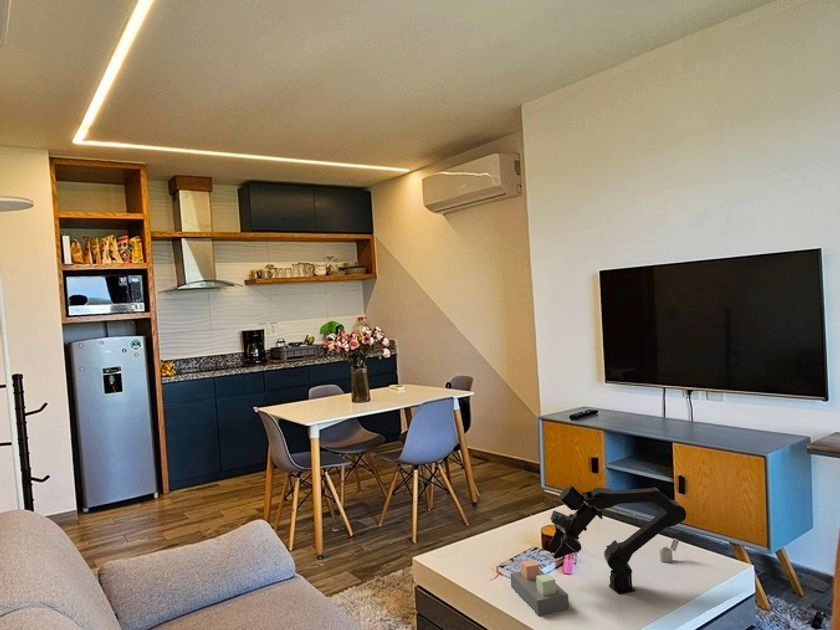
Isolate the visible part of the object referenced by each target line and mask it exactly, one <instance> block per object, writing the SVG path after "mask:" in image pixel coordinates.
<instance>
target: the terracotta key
mask: <svg viewBox="0 0 840 630" xmlns="http://www.w3.org/2000/svg"><path fill="white" fill-rule="evenodd" d="M539 569H540V565H539V564H538V563H537V562H536V561H535V560H534V559H528V560H524V561H520V571H521V576H522V577H523V578H524V579H525V580H526V581H527V580H533V579H536V576H539Z"/></svg>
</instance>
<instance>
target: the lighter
mask: <svg viewBox="0 0 840 630" xmlns="http://www.w3.org/2000/svg"><path fill="white" fill-rule="evenodd" d="M679 543H680V541H679V539H676V538H673V539H672V542H671V545H670V547H668V546H663V547H662V549H661V548H660V549H659V561H660V562H661V563H672V562H674V561H673V552H676V550H677V548H678V546H679Z"/></svg>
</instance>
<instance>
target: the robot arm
mask: <svg viewBox="0 0 840 630" xmlns="http://www.w3.org/2000/svg"><path fill="white" fill-rule="evenodd" d="M558 500H559V501H560V502H561V503H562V504H563V505H565V506H566V507H567V508H568V509H569V510H571V511H575V512H574V514H573V513H570V514H569V515H567V514H564V513H563V512H559V511H557V510H553V511H552V514H551V516H550V520H551V524H553V525H554V531H555V532H554V534H553V535H552V538H551V539H550V542H549V544H548V547H549V548H550V549H552V548H554V547H556V546H557V545H559V544H560V545H559V546H558V548H557V549H556V551H555V552H554V554H553V556H552V558H553V559H554V560H557V559H559V558H563V557H565V556H568V555H571V554H576V553H577V554H578V553H580V551H581V550H582V545H581V542H580V541H579V539H580V535H581V534H582V532H583V531H584V532H586V531H587V530H588V526H589V525H590V523H591V522H592V521H593V520H595V518H596V517H598V518H599V519H601V520H603V518H604V517H603V510H606V509H610V508H614V507H615V506H618V505H623V504H624V505H625V504H638V503H639V504H641V503H656V504H657V505H658V506H659V509H658V512H657V513H656V515H655V516H654V517H653V518H652V519H650V520H649V521H648V522H647V523H645V524H643V526H641V527H640V528H639V529H638V530H637V531H635V532H634V533H633V534H632V535H630V536H629V537H627V538H626V539H625V540H623V541H621V542H618V541H617V540H616V539H614V540H613V541H612V542H611V543H610V544H608V545H606V546H605V547H606V549H604V553H603V556H604V559H605V561H606V563H607V565H608V567H609V569H611V570H610V575H609V584H608V587H609V588H611V590H613V591H614V592H616V593H617V594H618V595H622V594H627V593H630V592H631V593H632V592H635V591H636V588H634V587H633V577H632V576H633V575H632V573H633V569H632V568H631V566H630V564H629V562H630V560H631V558H632V556H633V554H635V553H636V552H637V551H638V550H640V549H641V548H642V547H643V546H645V545H646V544H648V543H649V542H650V541H651V540H652V539H653V538H655V537H656V536H658V535H659V534H660V533H661V532H662V531H664V530H665V529H668V528H672V527H675V526H677V525H679V524H681V523H682V522H684V521H685V520H686V518H687V511H686V509H685V508H684V507H683V506H682V505H681V504H680V503H679V502H678V501H676V500H674V499H670V498H668V496H666V495H665V494H663V493H662V492H661V491H660V490H659V489H658V488H657V487H650V488H649V487H648V488H636V489H633V488H631V489H618V490H616V489H610V488H606V487H594V488H592V490H590V491H589V490H588V491H584V492H580V491H579V490H578V489H577V488H575V486H574V485H573V484H570V486H568V487H566V488H565V489H563V490H562V491H561V493H560V494H559V497H558Z"/></svg>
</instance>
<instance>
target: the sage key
mask: <svg viewBox="0 0 840 630" xmlns="http://www.w3.org/2000/svg"><path fill="white" fill-rule="evenodd" d="M555 583H556V579H555V578H554V576H552V575H551V574H549V573H545V574H544V575H539V576H536V585H537V591H538V592H539V593H540V594H541V595H542V596H547V595H552V594H556V586H555Z"/></svg>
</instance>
